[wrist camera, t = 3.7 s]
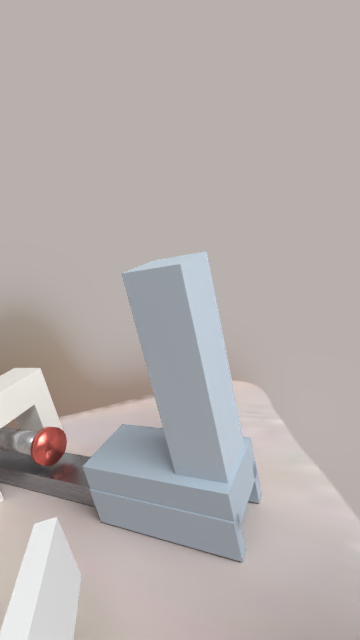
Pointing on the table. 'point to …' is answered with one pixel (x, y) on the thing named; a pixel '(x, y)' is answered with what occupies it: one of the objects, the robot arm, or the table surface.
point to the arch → (26, 401)
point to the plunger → (35, 443)
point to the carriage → (179, 421)
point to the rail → (48, 476)
